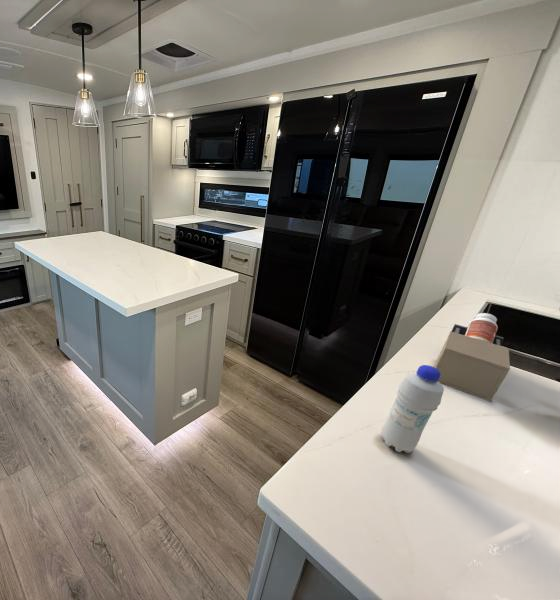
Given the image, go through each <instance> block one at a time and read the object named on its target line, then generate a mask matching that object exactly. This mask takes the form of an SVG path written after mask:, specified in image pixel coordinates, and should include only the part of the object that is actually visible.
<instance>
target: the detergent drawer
mask: <svg viewBox="0 0 560 600" xmlns="http://www.w3.org/2000/svg"><path fill="white" fill-rule="evenodd" d="M467 328H468V326H463V325H460V324H457V323H454V325H453V326H452V329H451V332H455V333H458V334H461V335H465V333H466V331H467ZM504 339H505V338H504V337H503V336H500V335H497V334H496V335H495V338H494V340H493V343H492V344H496V345H499V346H501V344H502V342H503V341H504Z"/></svg>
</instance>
